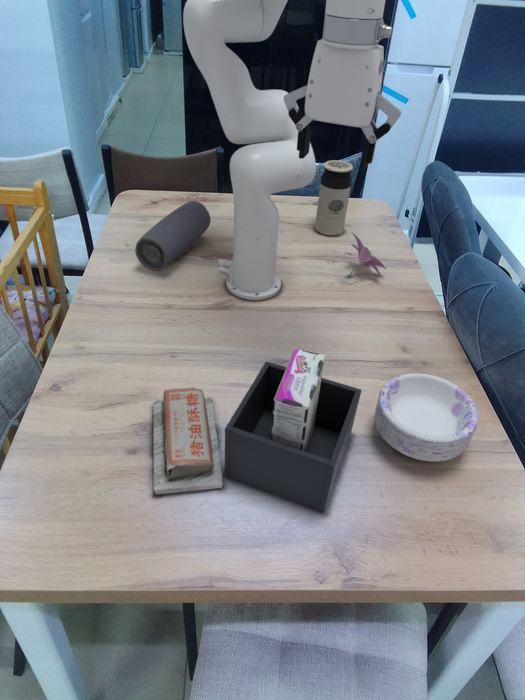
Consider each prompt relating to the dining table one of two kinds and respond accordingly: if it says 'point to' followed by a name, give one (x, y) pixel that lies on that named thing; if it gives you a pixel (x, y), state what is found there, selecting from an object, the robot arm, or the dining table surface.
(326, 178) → the travel mug
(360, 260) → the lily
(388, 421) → the paper bowls
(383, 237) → the dining table surface
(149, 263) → the bluetooth speaker
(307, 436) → the candy bar box
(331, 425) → the open storage box
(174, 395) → the packaged product
